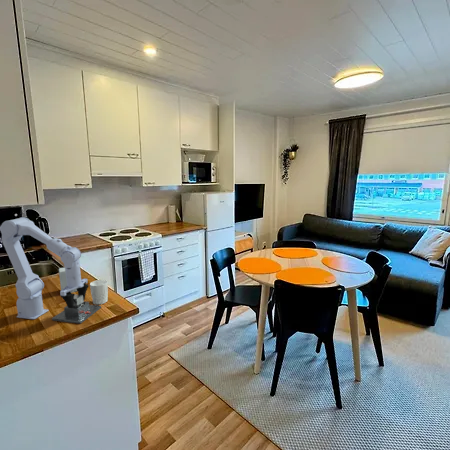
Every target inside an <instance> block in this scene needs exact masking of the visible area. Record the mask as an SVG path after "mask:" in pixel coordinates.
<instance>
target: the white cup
mask: <svg viewBox="0 0 450 450" xmlns="http://www.w3.org/2000/svg"><path fill="white" fill-rule="evenodd" d="M89 289H90V294H91V299H92V304H93V305H97V306H100V305H102V304H105V303H107V302H108V299H109V298H108V295H109V286H108V280H107V279H97V280H94V281H91V282H90V283H89Z"/></svg>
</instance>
